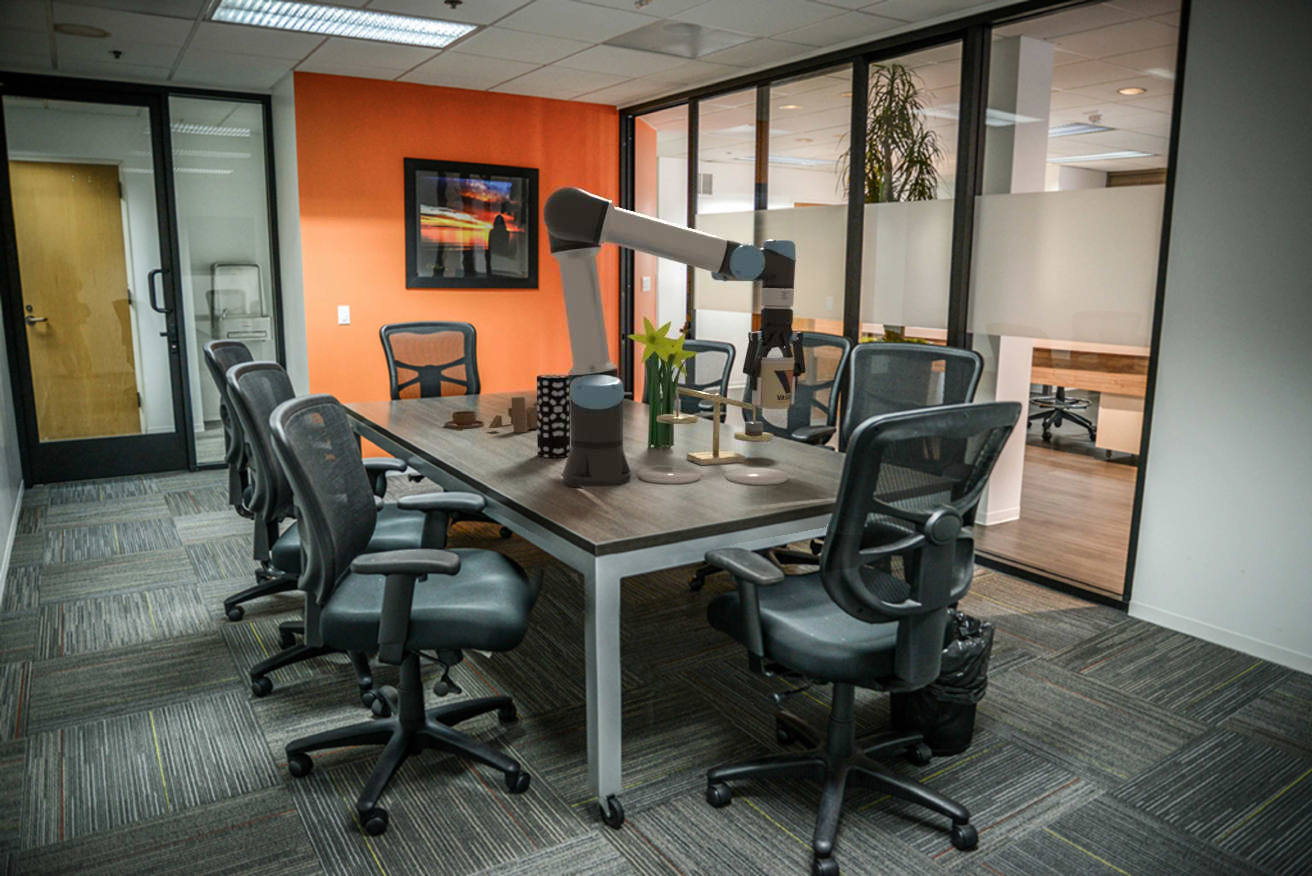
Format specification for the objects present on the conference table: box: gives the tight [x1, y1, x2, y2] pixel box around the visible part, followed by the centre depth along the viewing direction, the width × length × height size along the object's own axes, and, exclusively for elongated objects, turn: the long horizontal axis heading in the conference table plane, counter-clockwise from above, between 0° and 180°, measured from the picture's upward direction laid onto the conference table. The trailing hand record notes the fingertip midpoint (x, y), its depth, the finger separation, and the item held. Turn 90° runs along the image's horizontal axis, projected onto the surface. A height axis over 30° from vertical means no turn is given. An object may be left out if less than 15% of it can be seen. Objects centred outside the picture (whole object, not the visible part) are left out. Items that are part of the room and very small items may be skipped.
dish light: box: [638, 466, 701, 485], centre depth 202 cm, size 14×14×1 cm
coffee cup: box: [755, 354, 795, 410], centre depth 211 cm, size 9×9×12 cm
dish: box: [725, 467, 789, 486], centre depth 202 cm, size 14×14×1 cm
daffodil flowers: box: [627, 316, 699, 449], centre depth 236 cm, size 17×15×35 cm
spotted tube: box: [536, 374, 571, 458], centre depth 226 cm, size 8×8×20 cm
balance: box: [657, 386, 775, 466], centre depth 221 cm, size 31×10×19 cm, turn 114°
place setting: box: [443, 407, 513, 432], centre depth 271 cm, size 18×20×6 cm
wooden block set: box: [488, 396, 537, 434], centre depth 264 cm, size 18×9×10 cm, turn 131°
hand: (773, 403), depth 212 cm, fingers closed on coffee cup, 8 cm apart
